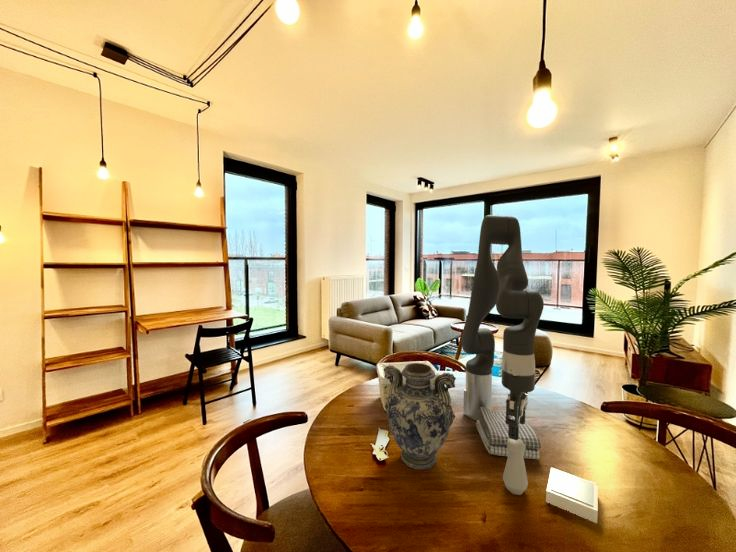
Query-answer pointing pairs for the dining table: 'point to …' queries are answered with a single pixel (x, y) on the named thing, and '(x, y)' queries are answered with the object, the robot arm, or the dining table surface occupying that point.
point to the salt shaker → (515, 468)
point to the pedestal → (573, 494)
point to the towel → (505, 434)
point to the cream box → (385, 383)
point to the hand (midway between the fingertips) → (517, 430)
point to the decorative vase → (419, 412)
